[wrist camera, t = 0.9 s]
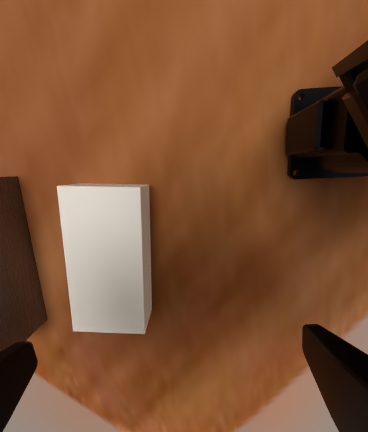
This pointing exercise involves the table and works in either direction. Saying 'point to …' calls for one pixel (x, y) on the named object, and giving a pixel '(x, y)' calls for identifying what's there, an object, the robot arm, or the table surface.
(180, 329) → the table surface
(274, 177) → the table surface
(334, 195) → the table surface
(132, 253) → the white rectangular block
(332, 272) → the table surface
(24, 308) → the stop bar
